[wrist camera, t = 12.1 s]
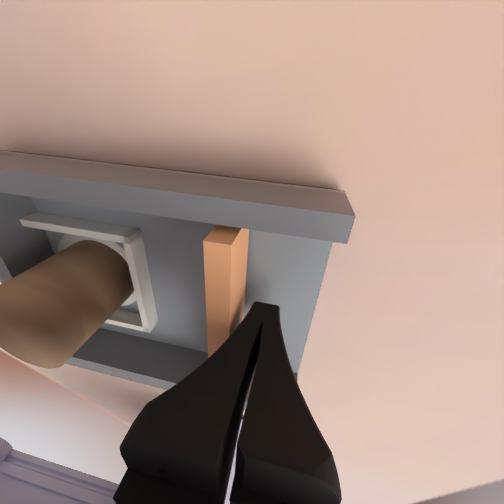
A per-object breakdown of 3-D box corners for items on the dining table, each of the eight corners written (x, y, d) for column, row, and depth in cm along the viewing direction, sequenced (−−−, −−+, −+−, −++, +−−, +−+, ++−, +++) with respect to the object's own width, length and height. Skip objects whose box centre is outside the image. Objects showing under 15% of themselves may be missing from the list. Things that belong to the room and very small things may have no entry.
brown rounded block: (141, 305, 16) (78, 376, 11) (81, 292, 16) (1, 356, 12) (127, 246, 13) (43, 308, 9) (59, 234, 14) (-50, 287, 10)
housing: (295, 376, 17) (292, 422, 14) (80, 326, 19) (46, 358, 17) (344, 190, 10) (355, 216, 8) (5, 150, 12) (-71, 159, 10)
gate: (240, 361, 16) (227, 408, 13) (226, 358, 16) (210, 404, 14) (250, 213, 11) (231, 245, 8) (228, 210, 11) (203, 240, 8)
